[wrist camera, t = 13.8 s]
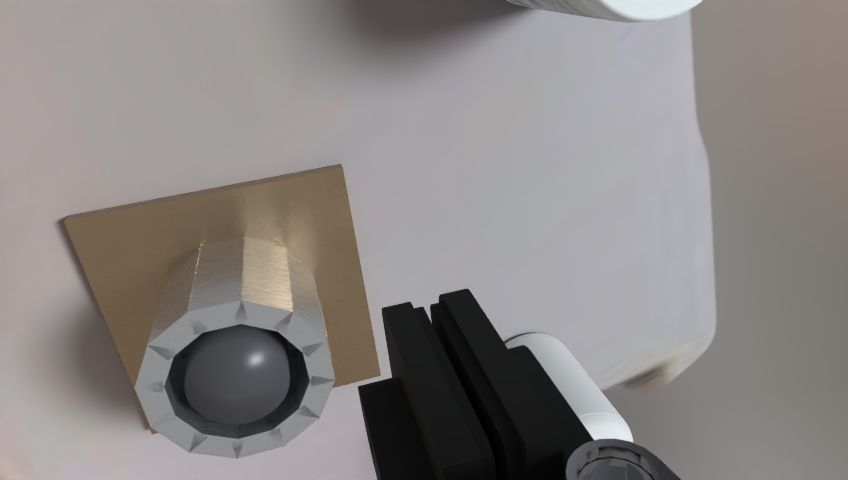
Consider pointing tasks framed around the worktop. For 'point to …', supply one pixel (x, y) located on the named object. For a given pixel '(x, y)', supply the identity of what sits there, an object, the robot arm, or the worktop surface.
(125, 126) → the worktop surface
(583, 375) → the pill bottle
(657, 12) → the supplement tub
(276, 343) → the cap
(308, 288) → the ball socket mount
